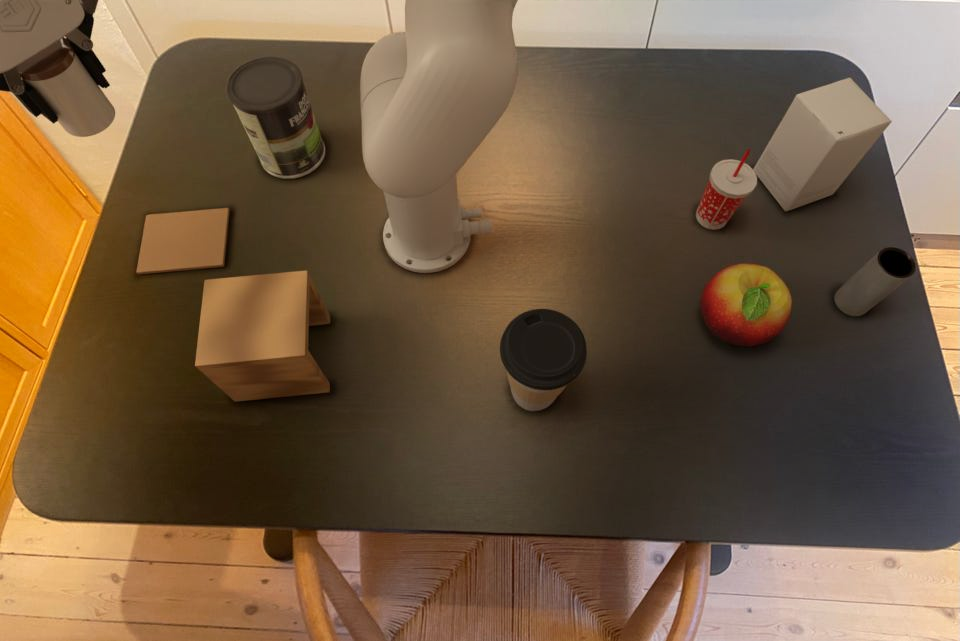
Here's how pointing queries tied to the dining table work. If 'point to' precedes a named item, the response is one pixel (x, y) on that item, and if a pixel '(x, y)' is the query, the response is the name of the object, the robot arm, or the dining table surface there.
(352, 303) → the dining table surface
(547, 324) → the coffee cup
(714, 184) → the beverage cup
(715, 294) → the fruit
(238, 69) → the coffee can
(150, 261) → the mat
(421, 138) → the robot arm
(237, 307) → the brown piece
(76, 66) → the bean jar
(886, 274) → the grey hollow cylinder
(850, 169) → the white product box
